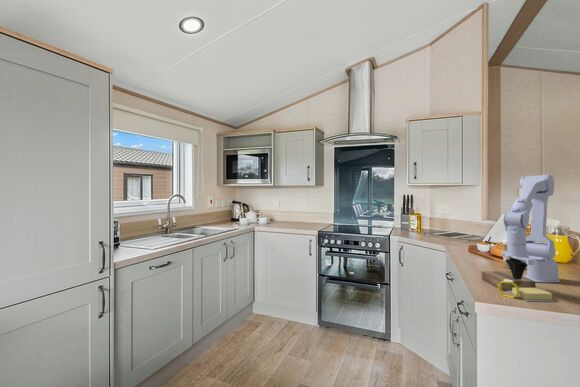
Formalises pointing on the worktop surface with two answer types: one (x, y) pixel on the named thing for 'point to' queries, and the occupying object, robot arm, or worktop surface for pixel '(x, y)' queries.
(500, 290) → the watch
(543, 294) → the yellow butter block
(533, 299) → the mat
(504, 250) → the sprinkles bottle
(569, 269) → the worktop surface
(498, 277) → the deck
